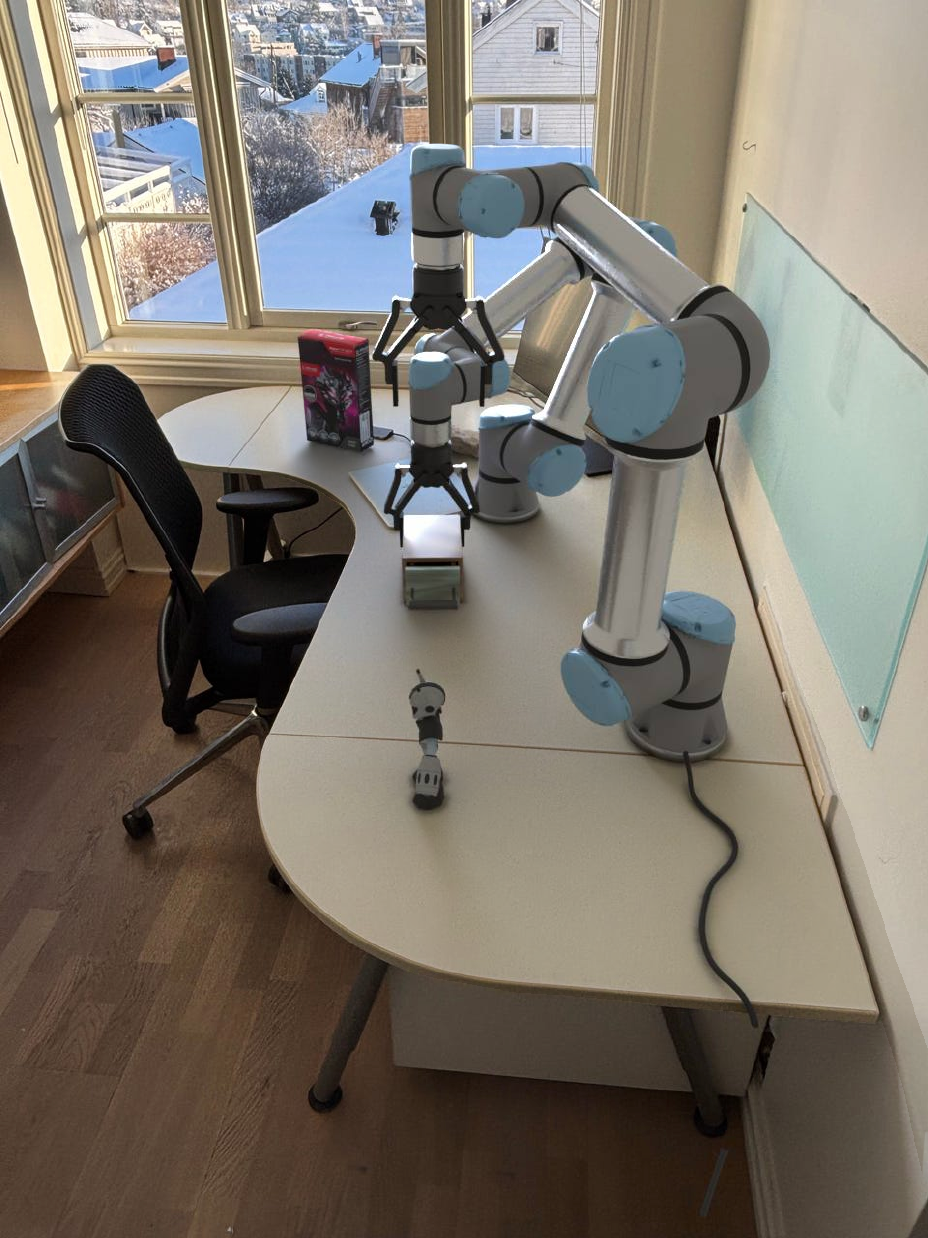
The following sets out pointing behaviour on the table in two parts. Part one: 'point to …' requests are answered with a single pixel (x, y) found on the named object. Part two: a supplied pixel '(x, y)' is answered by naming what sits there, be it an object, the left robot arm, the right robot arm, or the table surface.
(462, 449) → the stone
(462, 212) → the right robot arm
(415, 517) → the cabinet
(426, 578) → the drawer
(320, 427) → the graphics card box
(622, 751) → the table surface
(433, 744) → the robot
